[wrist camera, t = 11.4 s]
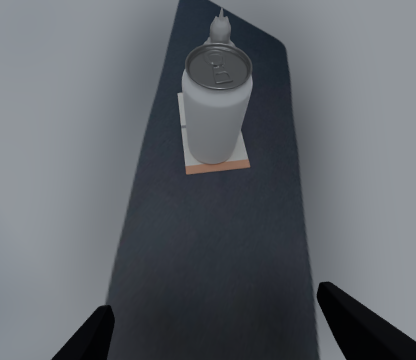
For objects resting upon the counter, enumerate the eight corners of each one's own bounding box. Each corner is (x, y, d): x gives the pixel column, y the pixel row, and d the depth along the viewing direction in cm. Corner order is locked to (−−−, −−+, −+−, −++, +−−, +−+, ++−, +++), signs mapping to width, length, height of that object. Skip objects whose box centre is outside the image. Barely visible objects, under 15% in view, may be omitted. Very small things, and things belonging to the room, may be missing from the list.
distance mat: (249, 167, 26) (250, 167, 26) (186, 174, 26) (186, 174, 25) (230, 89, 32) (230, 89, 32) (177, 93, 31) (177, 93, 31)
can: (227, 123, 29) (243, 35, 18) (240, 160, 26) (269, 85, 16) (184, 130, 28) (173, 44, 17) (193, 170, 26) (188, 98, 15)
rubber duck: (231, 53, 35) (240, -3, 28) (234, 79, 33) (244, 26, 25) (201, 52, 35) (202, -4, 28) (202, 79, 33) (202, 25, 25)
